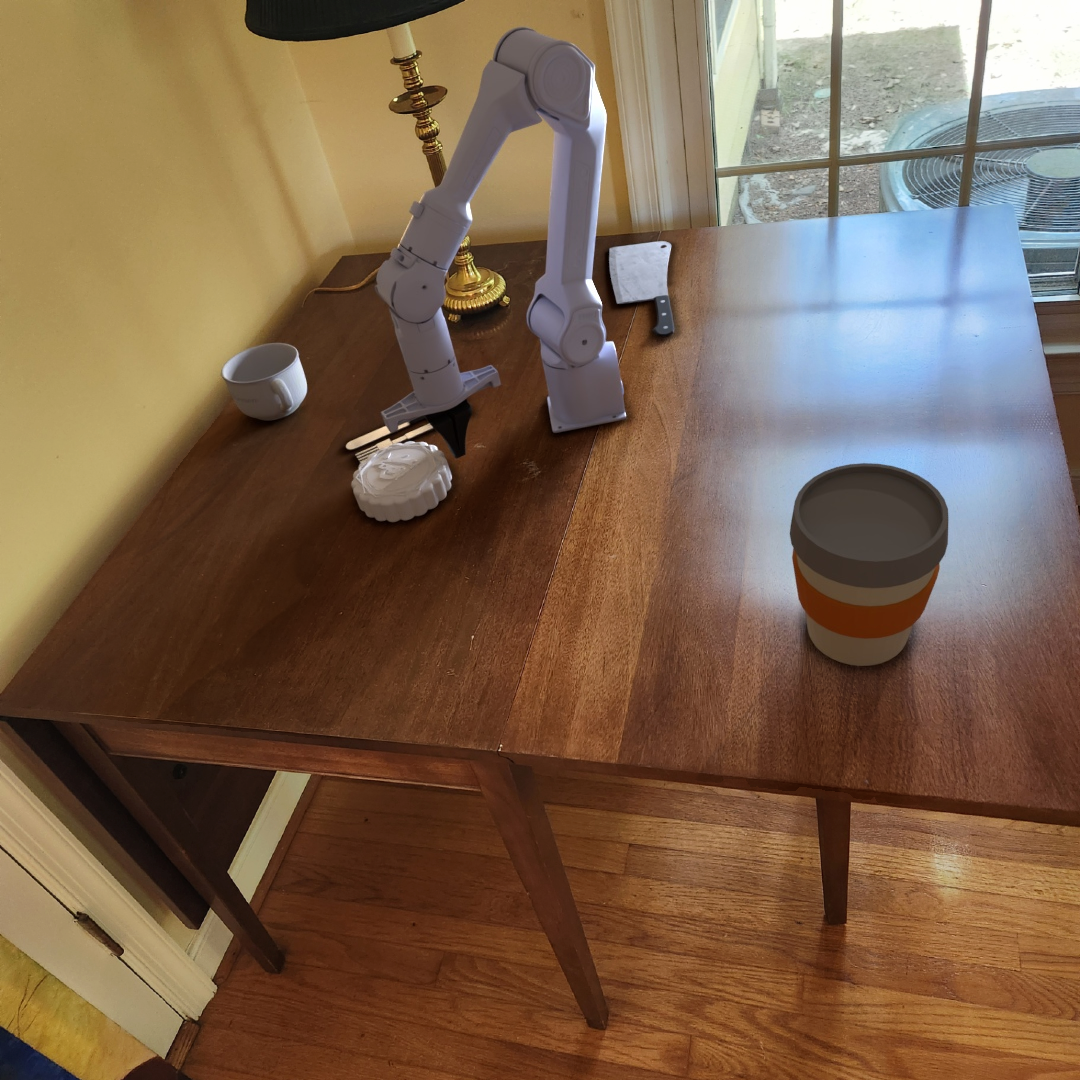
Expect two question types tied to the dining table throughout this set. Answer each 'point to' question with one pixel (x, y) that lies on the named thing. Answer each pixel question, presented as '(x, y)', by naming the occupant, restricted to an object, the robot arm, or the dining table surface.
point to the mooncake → (401, 481)
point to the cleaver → (643, 279)
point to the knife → (377, 435)
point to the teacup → (266, 380)
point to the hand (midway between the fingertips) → (458, 452)
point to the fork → (393, 442)
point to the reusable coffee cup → (866, 558)
